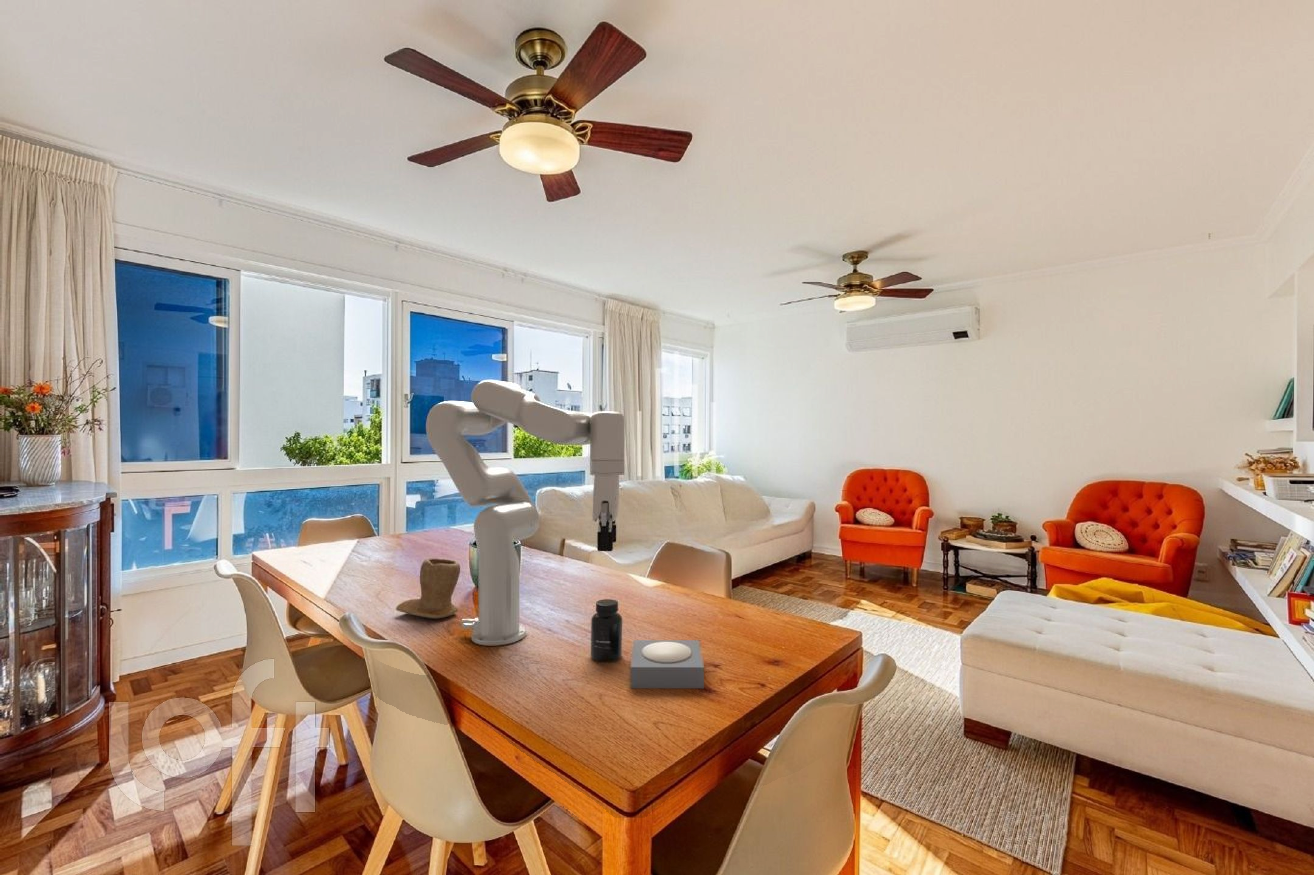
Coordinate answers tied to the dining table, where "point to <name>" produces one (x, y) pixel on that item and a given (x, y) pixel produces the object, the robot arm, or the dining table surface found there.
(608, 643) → the supplement bottle
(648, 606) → the dining table surface
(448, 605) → the tan flared hollow piece
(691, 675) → the plinth
